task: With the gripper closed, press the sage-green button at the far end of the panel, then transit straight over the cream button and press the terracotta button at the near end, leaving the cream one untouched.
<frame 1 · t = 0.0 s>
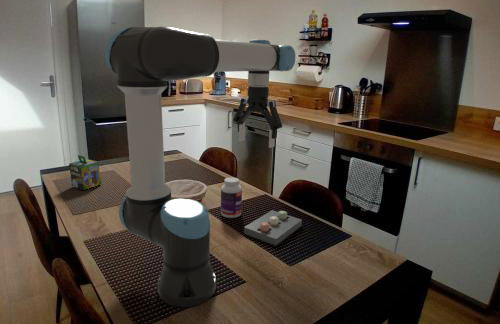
hand: (256, 143, 129), 28 cm above the table, fingers open, 13 cm apart
cream button: (273, 221, 123), point 3 cm above the table, slide at 0.0 cm
terracotta button: (264, 228, 119), point 3 cm above the table, slide at 0.0 cm
sage button: (282, 216, 128), point 3 cm above the table, slide at 0.0 cm
pill bottle: (231, 215, 135), on the table
panel: (273, 229, 124), on the table
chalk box: (86, 186, 159), on the table
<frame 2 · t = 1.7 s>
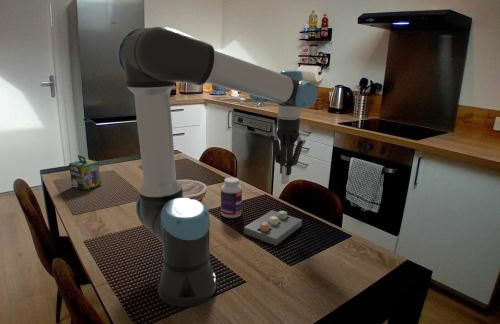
hand: (284, 182, 124), 16 cm above the table, fingers closed
nothing on the table moved.
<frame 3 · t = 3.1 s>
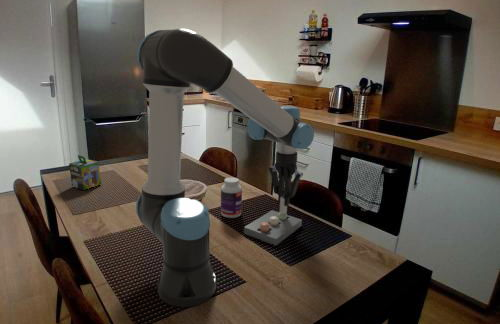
hand: (283, 212, 128), 4 cm above the table, fingers closed
sage button: (282, 217, 128), point 3 cm above the table, slide at -0.4 cm, touching gripper
everything else where it was.
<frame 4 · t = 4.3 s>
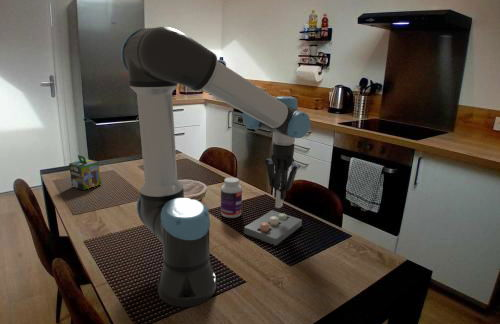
hand: (278, 206, 124), 8 cm above the table, fingers closed
sage button: (282, 218, 128), point 2 cm above the table, slide at -1.1 cm
everything else where it was.
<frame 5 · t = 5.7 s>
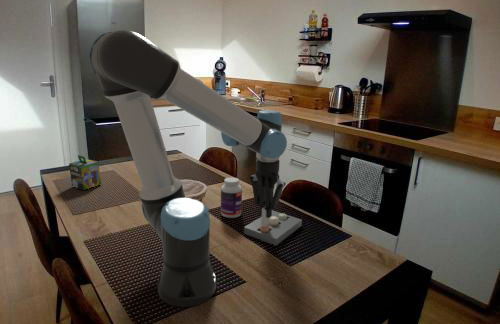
hand: (265, 224, 118), 4 cm above the table, fingers closed
terracotta button: (264, 229, 119), point 3 cm above the table, slide at -0.6 cm, touching gripper
everything else where it was.
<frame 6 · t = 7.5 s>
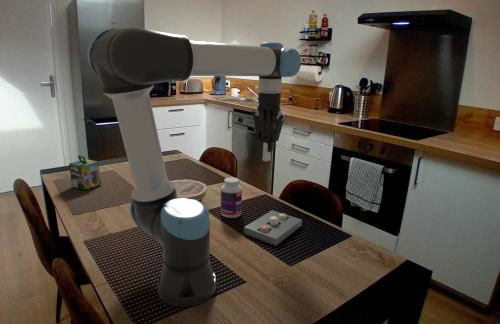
hand: (266, 160, 121), 25 cm above the table, fingers closed
terracotta button: (264, 230, 119), point 2 cm above the table, slide at -1.1 cm
everything else where it was.
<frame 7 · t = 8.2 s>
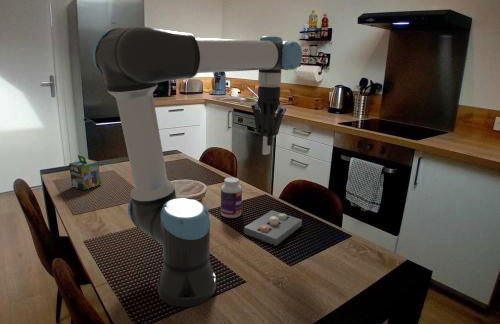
hand: (266, 153, 122), 26 cm above the table, fingers closed
nothing on the table moved.
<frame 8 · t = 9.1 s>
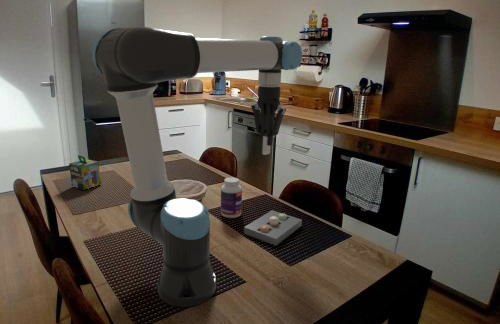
hand: (266, 153, 122), 26 cm above the table, fingers closed
nothing on the table moved.
at the end: sage button slide at -1.1 cm; terracotta button slide at -1.1 cm; cream button slide at 0.0 cm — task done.
